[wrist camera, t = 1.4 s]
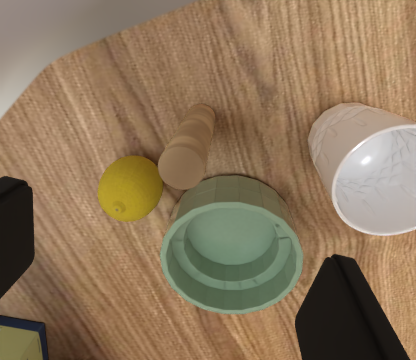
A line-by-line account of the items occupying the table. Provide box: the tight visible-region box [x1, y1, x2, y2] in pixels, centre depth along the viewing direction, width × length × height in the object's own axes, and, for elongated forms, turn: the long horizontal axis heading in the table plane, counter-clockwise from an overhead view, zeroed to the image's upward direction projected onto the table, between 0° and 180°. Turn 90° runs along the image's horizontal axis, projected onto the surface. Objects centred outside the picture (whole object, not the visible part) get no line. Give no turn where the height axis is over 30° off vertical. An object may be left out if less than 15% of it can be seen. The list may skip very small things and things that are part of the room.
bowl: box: [160, 175, 303, 314], centre depth 31 cm, size 13×13×6 cm
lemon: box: [98, 156, 163, 222], centre depth 28 cm, size 6×6×8 cm
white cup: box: [307, 102, 416, 236], centre depth 24 cm, size 8×8×10 cm
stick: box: [158, 104, 216, 190], centre depth 23 cm, size 3×3×12 cm
